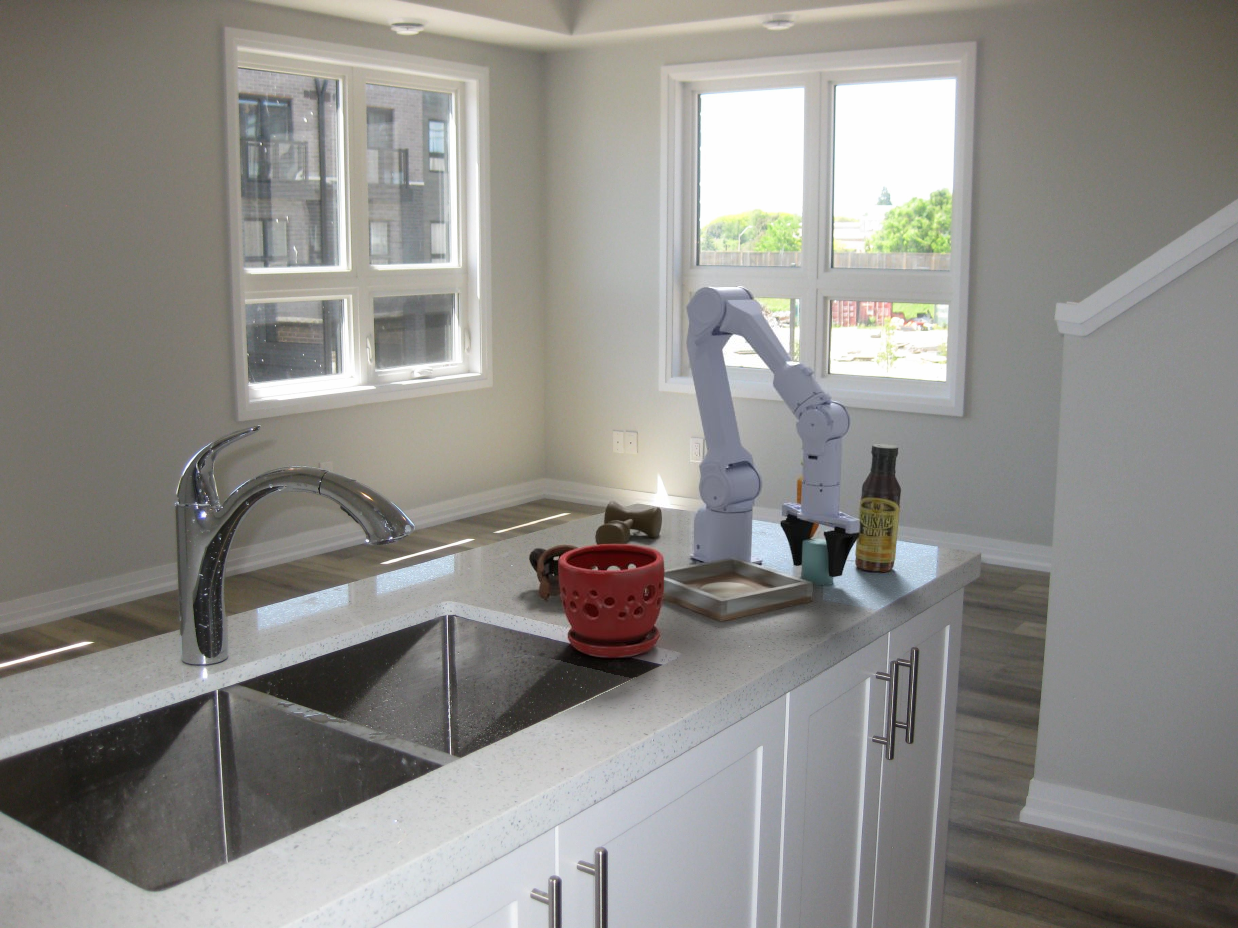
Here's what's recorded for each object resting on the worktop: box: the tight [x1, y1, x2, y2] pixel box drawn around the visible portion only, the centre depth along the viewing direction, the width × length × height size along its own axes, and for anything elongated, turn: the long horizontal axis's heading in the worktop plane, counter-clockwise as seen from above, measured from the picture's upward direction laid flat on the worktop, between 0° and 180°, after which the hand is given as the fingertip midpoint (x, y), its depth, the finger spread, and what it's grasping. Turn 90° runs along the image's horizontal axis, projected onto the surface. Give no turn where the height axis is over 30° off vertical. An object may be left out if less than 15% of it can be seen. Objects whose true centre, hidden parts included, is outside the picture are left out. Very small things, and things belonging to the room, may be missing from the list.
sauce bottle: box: [854, 443, 902, 573], centre depth 182 cm, size 7×6×20 cm
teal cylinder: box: [800, 538, 834, 586], centre depth 175 cm, size 5×5×6 cm
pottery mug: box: [528, 544, 597, 602], centre depth 168 cm, size 12×10×8 cm
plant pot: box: [558, 543, 665, 659], centre depth 143 cm, size 13×13×12 cm
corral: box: [645, 557, 814, 622], centre depth 167 cm, size 17×17×3 cm
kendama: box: [594, 500, 663, 545], centre depth 201 cm, size 6×10×20 cm
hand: (817, 570), depth 176 cm, fingers open, 7 cm apart
